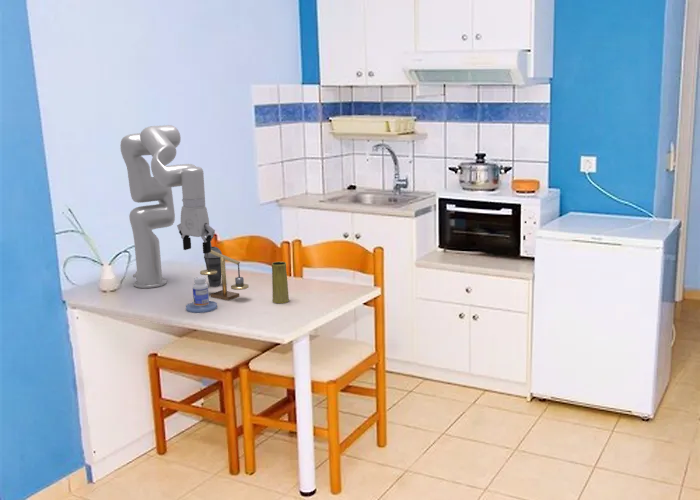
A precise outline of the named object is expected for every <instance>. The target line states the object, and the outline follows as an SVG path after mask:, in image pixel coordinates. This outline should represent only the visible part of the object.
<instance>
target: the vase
mask: <svg viewBox="0 0 700 500" xmlns="http://www.w3.org/2000/svg"><path fill="white" fill-rule="evenodd" d="M287 274H288V273H287V262H285V261H274V262H272V263H271V279H272V281H271V282H272V283H271V284H272V285H271V286H272V303H274V304H286V303H288V302H290V298H289V287H288V285H289V284H288V275H287Z"/></svg>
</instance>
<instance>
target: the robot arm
mask: <svg viewBox="0 0 700 500" xmlns="http://www.w3.org/2000/svg"><path fill="white" fill-rule="evenodd" d="M180 144H181V134H180V131H179V129H178V127H175V126H174V125H172V124H166V125H165V124H164V125H152V126H147V127H144V128H143V129H142V130H141V132H139V133H132V134H127V135H124V136H123V137H122V139H121V141H120V152H121V157H122V159H123V161H124V163H125V166H126V170H127V178H128V186H129V193H130V197H131V200H132V201H133V202H135V203H139V204H140V203H151V202H158V204H157V203H156V204H146V205H141V206H138V207H135V208H133V209H131V211H130V213H129V214H128V216H129V223H130V226H131V230H132V234H133V242H134V244H133V245H134V253H135V266H136V271H135V272H134V273H133V274H132V277H133V278H135V279H136V280H135V281H134V282H133V286H134V287H136V288H139V289H151V288H152V289H153V288H159V287H161V286H164V285H166V284H167V279H166V278H163V273H162V272H163V271H162V259H161V249H160V248H161V247H160V240H159V238H158V236H157V235H156V234H155V233H154V231H153V230H157V229H158V230H159V229H164V228H168V227H171V226H173V225H174V223H175V220H176V217H175V216H176V213H175V206H174V205H175V204H174V196H173V189H172V188H176V187H181V191H182V192H181V193H182V199H181V201H182V206H181V211H180V223H179V224H177V225H176V226H177V229H178V233H179V234H180V238H181V239H182V248H183V250H184V251H187V250H190V249H191V248H192V240H191V239H192V238H191V237H196V238H201V239H202V241H203V242H202V253H203V255H204V254H206V253H209V252H211V246H212V243H211V244H210V241H211V242H213V238H214V235H215V232H216V230H215V229H214V228H213V227H212V226H211V225H210V219H209V214H208V213H209V212H208V210H207V206H206V194H205V193H206V192H205V177H204V169H203V168H202V167H200V166H196V165H194V164H193V163H184V164H171V165H169V164H170V163H172V162H173V161H174V160H175V158H176V156H177V148H178V147H179V145H180ZM143 156H151V157H152V158H151V161H150V164H149V162H148V161H147V160H146V159H145V158H144V157H143ZM151 173H152V175H151Z"/></svg>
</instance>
